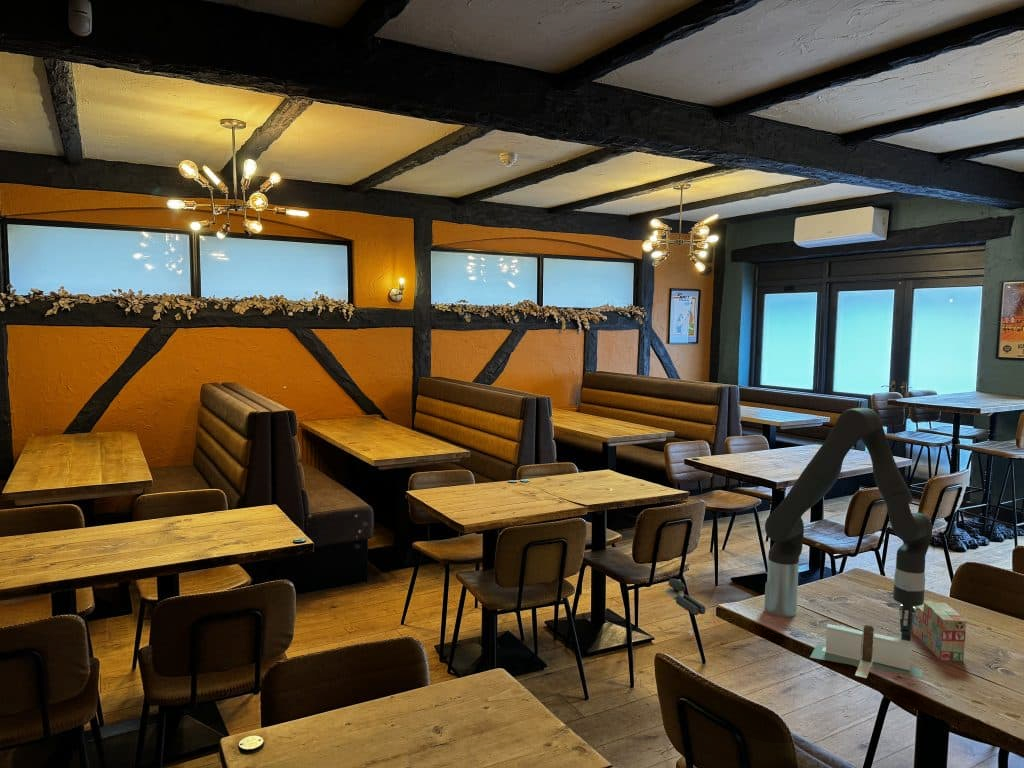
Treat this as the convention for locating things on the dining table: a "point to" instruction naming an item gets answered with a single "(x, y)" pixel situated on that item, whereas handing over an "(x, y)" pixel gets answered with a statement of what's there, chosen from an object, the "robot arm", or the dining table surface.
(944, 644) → the stack of blocks
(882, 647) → the panel
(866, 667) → the board
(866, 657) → the brown rounded rod
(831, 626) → the panel
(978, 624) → the dining table surface
